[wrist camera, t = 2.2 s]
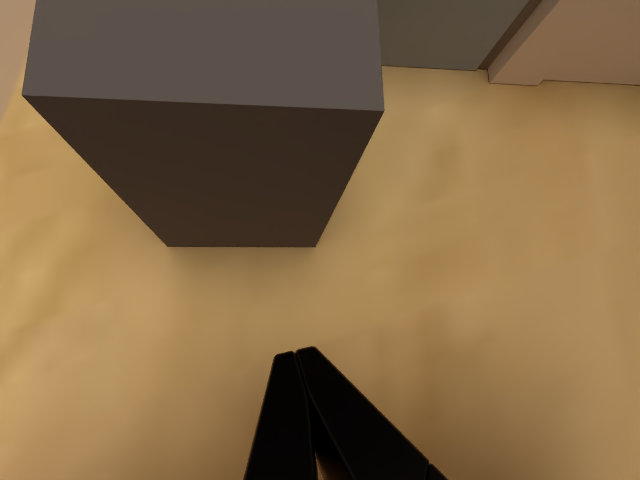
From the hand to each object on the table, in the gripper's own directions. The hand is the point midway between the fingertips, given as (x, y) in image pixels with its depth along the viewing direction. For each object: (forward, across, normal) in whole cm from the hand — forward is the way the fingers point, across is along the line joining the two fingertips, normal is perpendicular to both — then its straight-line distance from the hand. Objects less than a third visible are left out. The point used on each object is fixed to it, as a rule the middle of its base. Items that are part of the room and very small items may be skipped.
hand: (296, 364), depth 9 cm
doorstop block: (+12, 0, 0) cm, 12 cm away
